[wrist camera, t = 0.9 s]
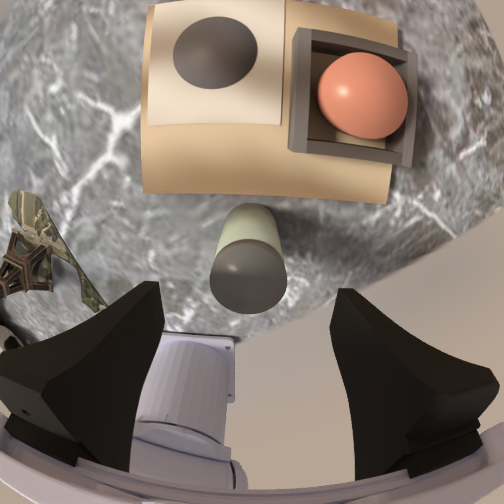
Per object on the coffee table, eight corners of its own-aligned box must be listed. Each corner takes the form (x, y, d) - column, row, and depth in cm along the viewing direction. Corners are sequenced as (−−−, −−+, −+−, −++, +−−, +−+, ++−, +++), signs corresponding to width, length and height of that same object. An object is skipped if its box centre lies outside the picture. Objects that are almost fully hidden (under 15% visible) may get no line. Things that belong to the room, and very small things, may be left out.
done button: (388, 142, 14) (404, 145, 12) (313, 131, 14) (321, 132, 12) (392, 69, 12) (408, 64, 10) (316, 53, 12) (325, 44, 10)
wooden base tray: (381, 201, 18) (402, 216, 15) (147, 191, 18) (128, 204, 15) (392, 26, 13) (414, 13, 10) (152, 10, 12) (134, -7, 9)
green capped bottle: (274, 252, 20) (283, 315, 14) (224, 250, 20) (211, 312, 14) (278, 204, 18) (290, 249, 12) (224, 202, 18) (208, 246, 12)
